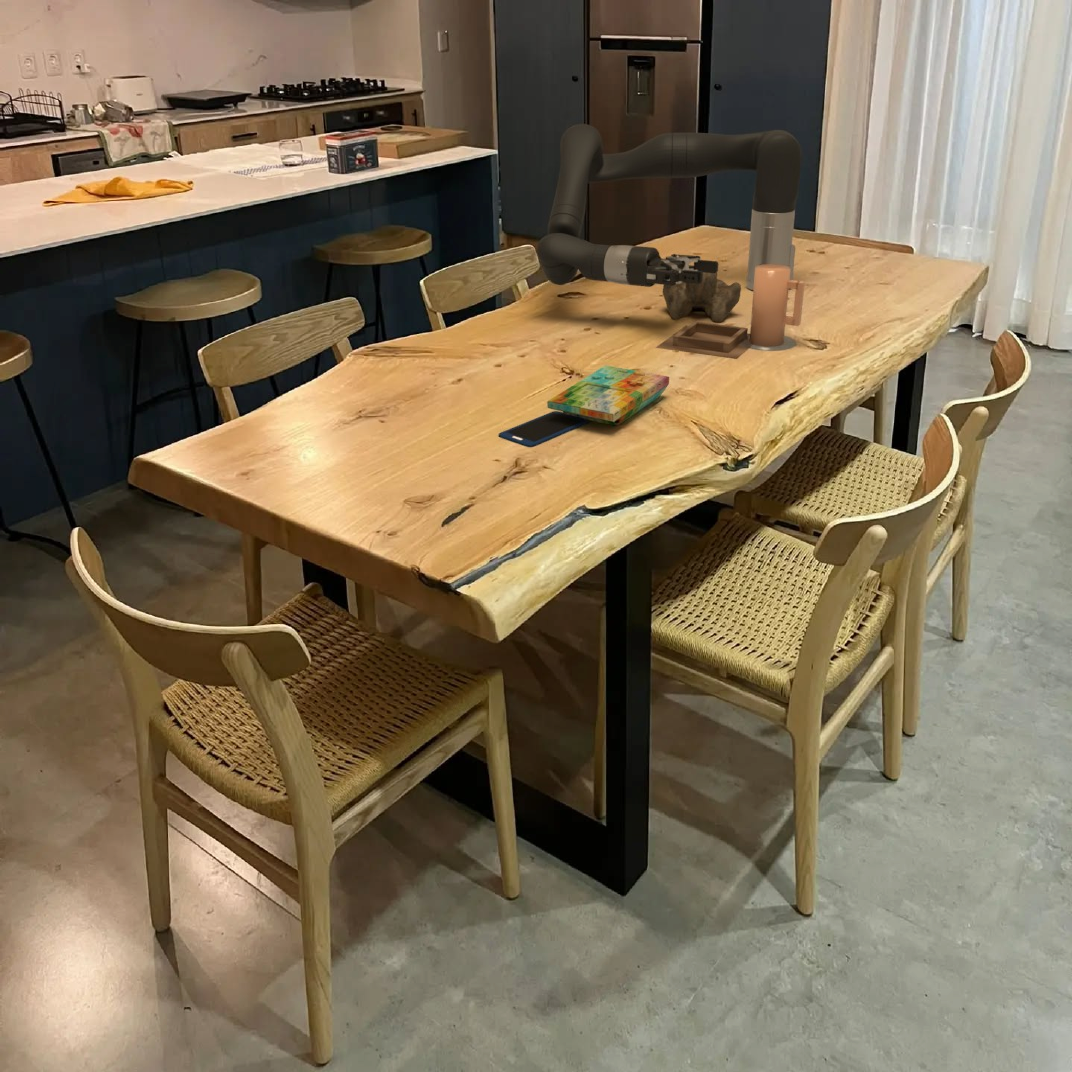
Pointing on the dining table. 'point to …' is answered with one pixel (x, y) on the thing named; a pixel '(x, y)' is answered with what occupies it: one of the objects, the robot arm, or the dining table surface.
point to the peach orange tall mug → (773, 304)
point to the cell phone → (542, 429)
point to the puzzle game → (610, 395)
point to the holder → (709, 340)
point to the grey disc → (786, 345)
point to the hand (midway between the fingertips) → (710, 272)
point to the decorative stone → (702, 297)
